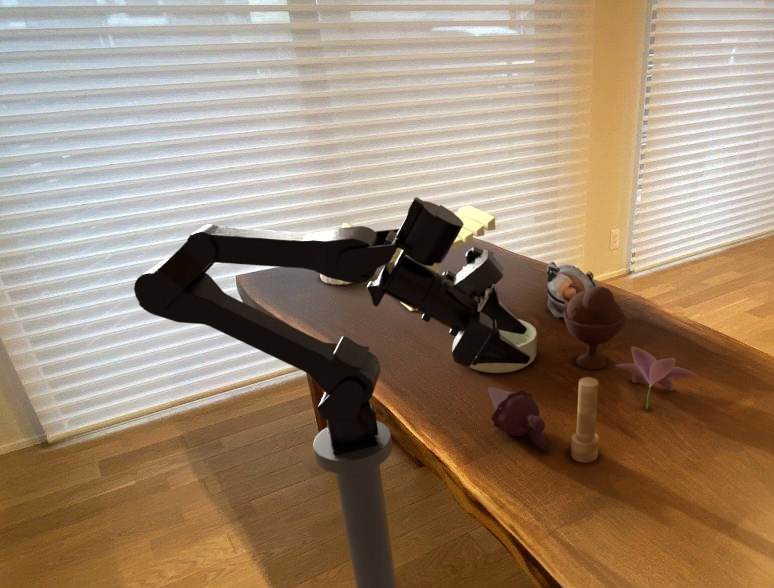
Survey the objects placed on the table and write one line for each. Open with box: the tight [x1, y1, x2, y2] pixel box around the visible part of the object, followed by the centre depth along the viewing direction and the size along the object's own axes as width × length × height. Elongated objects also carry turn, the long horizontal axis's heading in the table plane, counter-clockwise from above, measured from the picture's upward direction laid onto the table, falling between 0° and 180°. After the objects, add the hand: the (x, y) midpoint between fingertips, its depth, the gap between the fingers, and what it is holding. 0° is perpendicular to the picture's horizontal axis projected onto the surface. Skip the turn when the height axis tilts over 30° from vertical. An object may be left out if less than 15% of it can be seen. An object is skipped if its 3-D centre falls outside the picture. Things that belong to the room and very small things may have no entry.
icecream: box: [487, 386, 549, 451], centre depth 92 cm, size 7×7×15 cm
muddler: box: [570, 376, 600, 464], centre depth 85 cm, size 4×4×12 cm
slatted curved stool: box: [341, 205, 496, 312], centre depth 140 cm, size 30×16×18 cm, turn 120°
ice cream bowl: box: [563, 285, 627, 370], centre depth 110 cm, size 11×11×15 cm
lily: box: [614, 346, 699, 410], centre depth 100 cm, size 12×12×10 cm
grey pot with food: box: [546, 261, 600, 319], centre depth 129 cm, size 15×12×14 cm
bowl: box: [469, 318, 538, 374], centre depth 114 cm, size 14×14×5 cm
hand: (527, 345), depth 85 cm, fingers open, 9 cm apart
